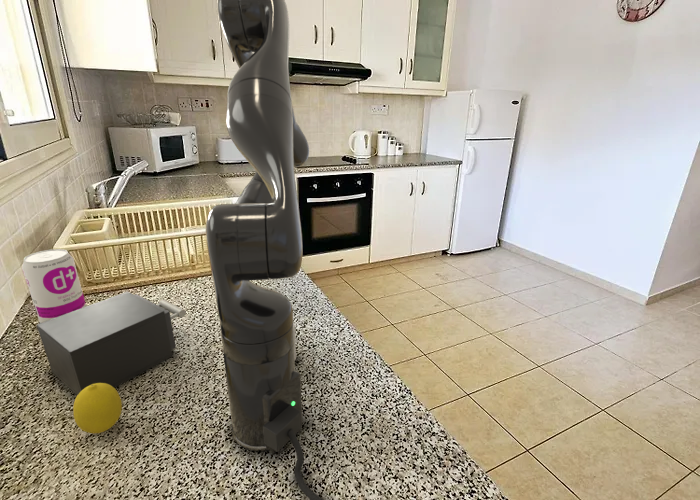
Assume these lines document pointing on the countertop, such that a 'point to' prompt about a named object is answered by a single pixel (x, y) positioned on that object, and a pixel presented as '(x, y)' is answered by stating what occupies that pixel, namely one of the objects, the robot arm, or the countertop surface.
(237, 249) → the robot arm
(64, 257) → the supplement can
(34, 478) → the countertop surface
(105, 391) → the lemon
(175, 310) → the fryer drawer
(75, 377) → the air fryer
